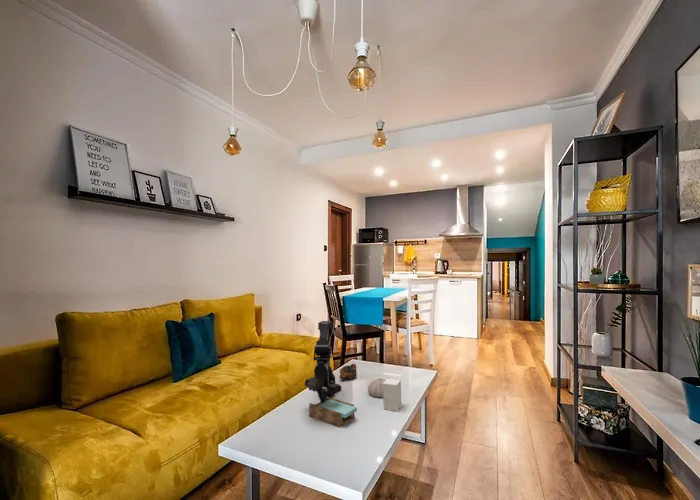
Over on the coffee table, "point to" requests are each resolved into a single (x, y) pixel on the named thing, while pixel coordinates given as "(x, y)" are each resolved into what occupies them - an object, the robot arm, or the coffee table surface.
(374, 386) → the sea urchin shell
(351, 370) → the decorative turtle
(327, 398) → the brown wooden box
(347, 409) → the cover plate
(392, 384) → the supplement box
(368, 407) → the coffee table surface
